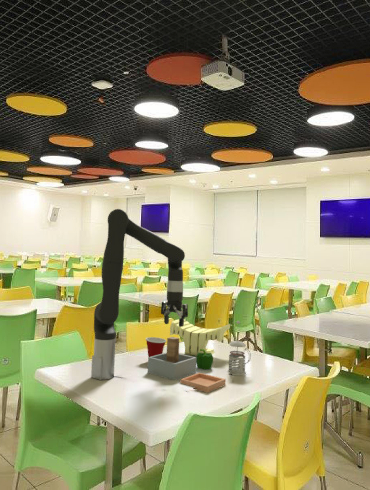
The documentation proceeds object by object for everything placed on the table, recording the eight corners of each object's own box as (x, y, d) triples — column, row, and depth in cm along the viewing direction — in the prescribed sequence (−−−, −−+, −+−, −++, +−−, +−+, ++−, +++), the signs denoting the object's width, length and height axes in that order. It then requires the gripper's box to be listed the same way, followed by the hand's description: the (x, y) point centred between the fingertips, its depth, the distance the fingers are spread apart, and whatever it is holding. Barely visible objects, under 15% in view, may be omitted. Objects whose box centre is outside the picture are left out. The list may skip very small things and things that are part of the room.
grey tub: (174, 382, 178) (175, 364, 179) (147, 374, 188) (148, 357, 188) (195, 374, 191) (196, 357, 191) (169, 367, 201) (170, 351, 201)
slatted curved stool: (169, 353, 231) (170, 321, 231) (181, 347, 245) (182, 318, 245) (219, 361, 218) (220, 327, 218) (228, 354, 232) (230, 323, 233)
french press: (231, 368, 204) (233, 318, 205) (253, 372, 198) (255, 321, 199) (222, 373, 196) (224, 320, 196) (245, 377, 190) (247, 323, 190)
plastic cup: (164, 365, 205) (165, 341, 205) (143, 364, 205) (144, 340, 205) (166, 359, 216) (167, 337, 216) (145, 359, 216) (146, 336, 216)
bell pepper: (215, 369, 202) (216, 349, 202) (208, 373, 195) (208, 352, 195) (200, 366, 206) (201, 346, 206) (192, 370, 199) (193, 349, 199)
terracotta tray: (207, 392, 167) (207, 386, 167) (180, 385, 175) (180, 379, 175) (225, 384, 178) (225, 379, 178) (199, 378, 186) (199, 372, 186)
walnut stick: (172, 374, 187) (174, 339, 187) (165, 372, 189) (167, 338, 190) (178, 372, 190) (179, 338, 190) (171, 370, 192) (172, 336, 193)
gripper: (158, 289, 192) (156, 324, 191) (182, 292, 183) (180, 328, 183) (168, 288, 198) (167, 322, 197) (192, 291, 189) (190, 326, 189)
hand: (173, 325), depth 190 cm, fingers open, 8 cm apart
